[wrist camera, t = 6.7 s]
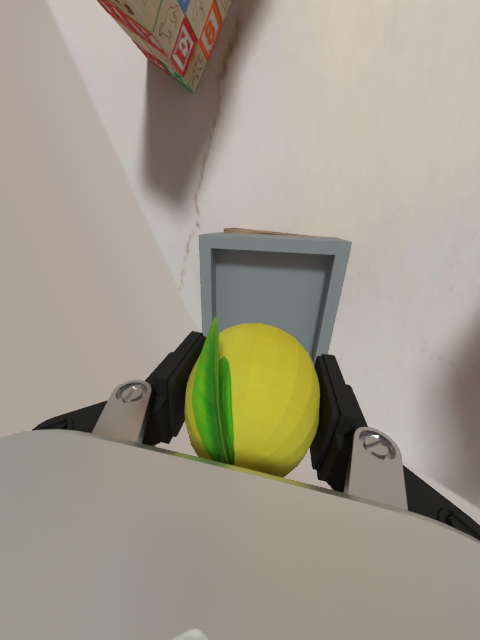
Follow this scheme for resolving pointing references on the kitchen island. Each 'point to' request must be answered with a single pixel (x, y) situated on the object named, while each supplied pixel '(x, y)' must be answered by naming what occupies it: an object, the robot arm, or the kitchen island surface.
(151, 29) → the stack of blocks
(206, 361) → the lemon
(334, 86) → the kitchen island surface
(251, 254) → the tower top block
